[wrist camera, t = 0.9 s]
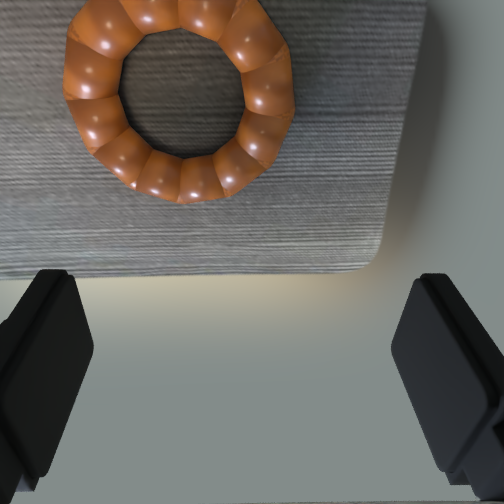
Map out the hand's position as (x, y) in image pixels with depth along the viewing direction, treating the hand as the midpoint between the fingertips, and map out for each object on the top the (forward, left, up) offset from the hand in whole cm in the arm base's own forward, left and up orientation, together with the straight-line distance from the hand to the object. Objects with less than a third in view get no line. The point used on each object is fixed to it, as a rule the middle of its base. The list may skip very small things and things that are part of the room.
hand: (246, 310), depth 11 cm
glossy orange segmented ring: (+1, -4, -15) cm, 16 cm away
